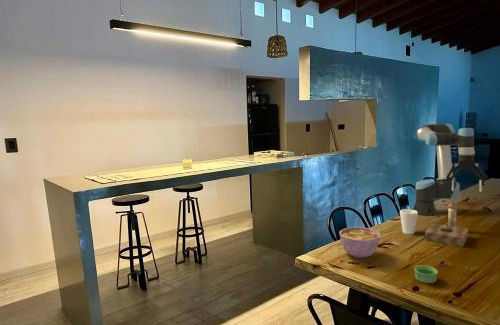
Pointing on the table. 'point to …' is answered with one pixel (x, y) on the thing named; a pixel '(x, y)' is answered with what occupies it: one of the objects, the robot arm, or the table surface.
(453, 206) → the dowel
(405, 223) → the foam cup
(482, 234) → the table surface
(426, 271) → the ramekin
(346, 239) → the bowl of food
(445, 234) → the square peg hole block
